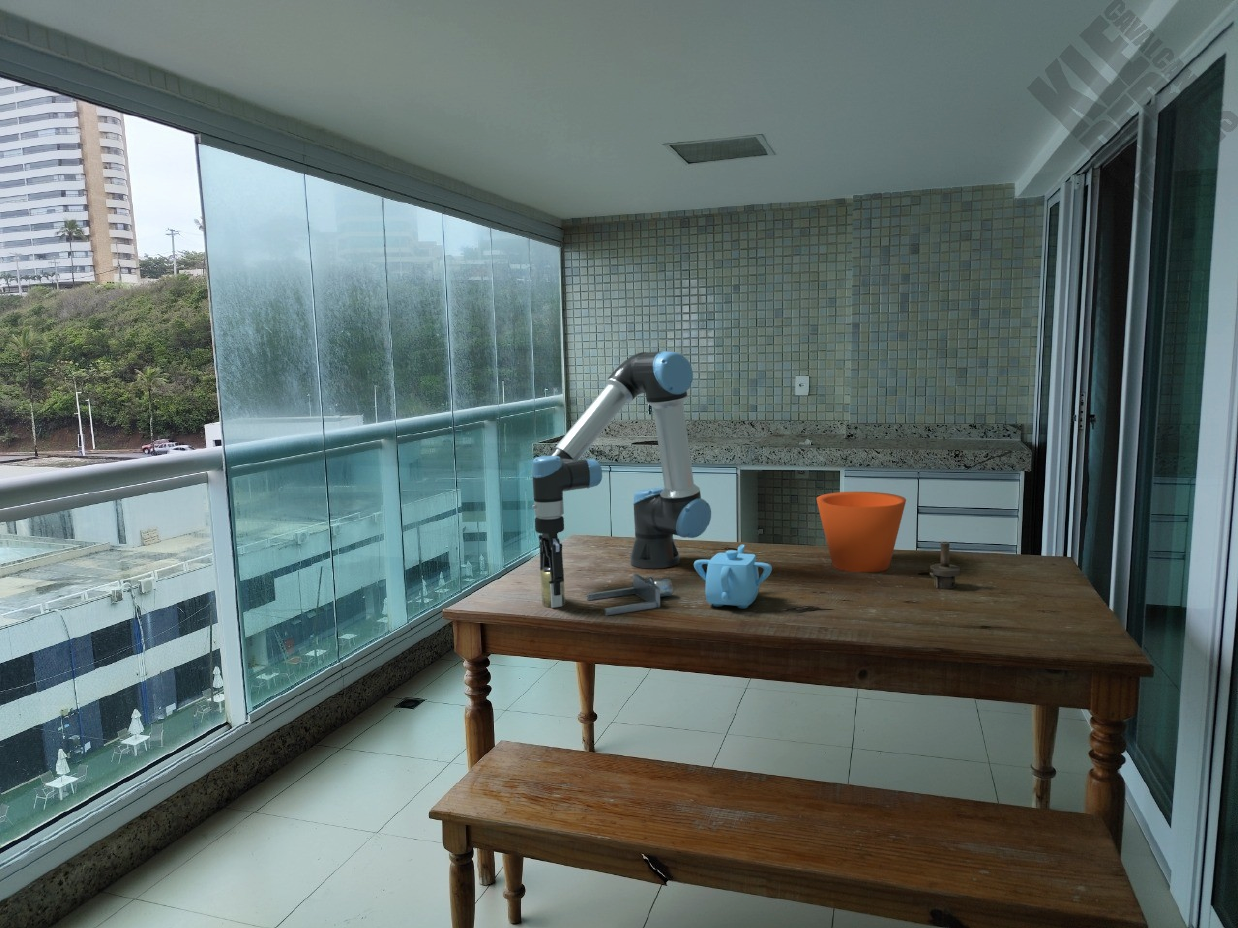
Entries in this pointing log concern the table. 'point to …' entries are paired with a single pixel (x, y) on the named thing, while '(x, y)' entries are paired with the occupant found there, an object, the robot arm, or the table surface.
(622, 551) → the table surface
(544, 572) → the yellow jar
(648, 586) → the flange cradle
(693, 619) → the table surface
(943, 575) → the industrial component
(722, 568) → the light blue boxy pot
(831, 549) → the flowerpot
